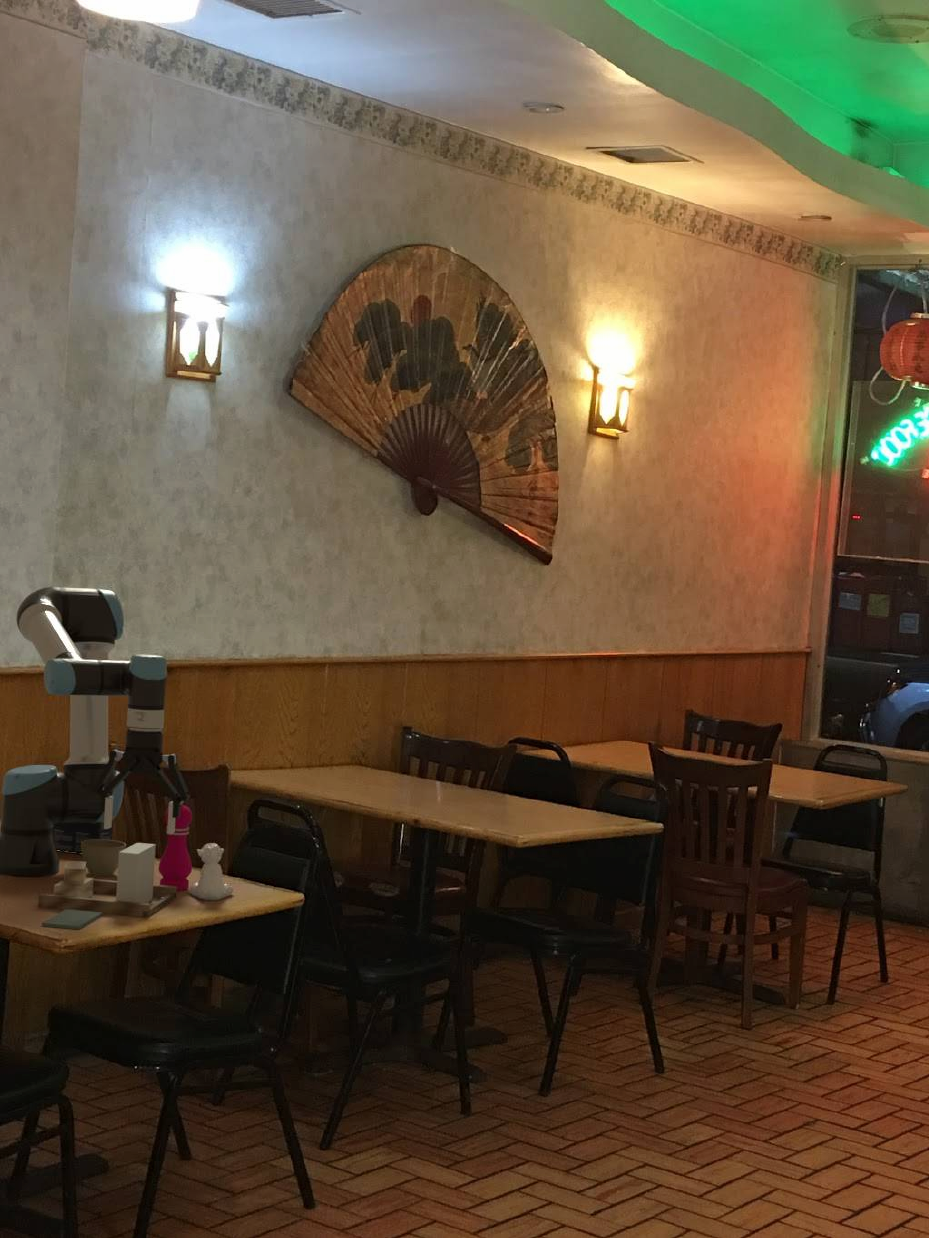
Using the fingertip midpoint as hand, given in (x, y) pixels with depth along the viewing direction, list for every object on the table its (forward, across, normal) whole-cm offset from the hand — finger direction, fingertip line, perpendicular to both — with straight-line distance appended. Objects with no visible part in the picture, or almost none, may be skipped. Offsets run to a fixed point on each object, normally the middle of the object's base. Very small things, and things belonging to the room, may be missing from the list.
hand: (139, 830), depth 345 cm
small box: (+15, -30, +51) cm, 61 cm away
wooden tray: (+16, -6, 0) cm, 17 cm away
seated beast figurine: (+16, +12, +14) cm, 25 cm away
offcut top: (+12, -13, 0) cm, 18 cm away
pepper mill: (+16, +2, +20) cm, 26 cm away
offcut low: (+16, -14, 0) cm, 21 cm away
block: (+16, 0, 0) cm, 16 cm away
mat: (+16, -7, -18) cm, 25 cm away
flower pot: (+16, -17, +27) cm, 36 cm away
